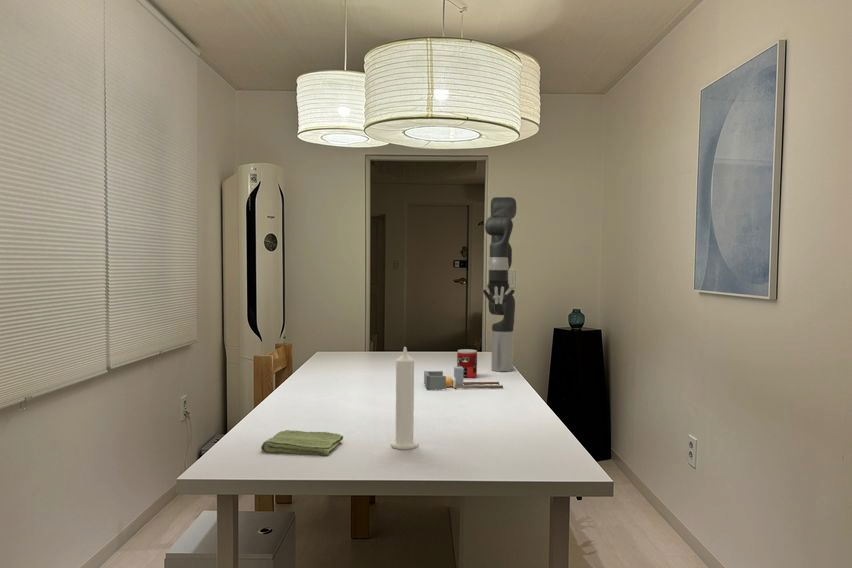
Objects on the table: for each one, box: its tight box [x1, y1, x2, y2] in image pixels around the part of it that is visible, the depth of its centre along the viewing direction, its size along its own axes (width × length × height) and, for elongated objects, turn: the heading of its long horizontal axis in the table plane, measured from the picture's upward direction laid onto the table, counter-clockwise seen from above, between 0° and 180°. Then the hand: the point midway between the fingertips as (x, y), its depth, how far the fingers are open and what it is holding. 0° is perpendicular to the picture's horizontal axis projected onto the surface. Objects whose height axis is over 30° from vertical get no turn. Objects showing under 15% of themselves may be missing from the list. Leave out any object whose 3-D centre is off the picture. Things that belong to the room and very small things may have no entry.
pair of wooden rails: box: [454, 381, 504, 389], centre depth 226 cm, size 8×18×1 cm, turn 95°
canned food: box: [456, 348, 478, 379], centre depth 244 cm, size 8×8×11 cm
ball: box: [445, 375, 452, 388], centre depth 225 cm, size 4×4×4 cm
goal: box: [423, 370, 447, 391], centre depth 224 cm, size 11×7×5 cm, turn 5°
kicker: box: [451, 366, 464, 389], centre depth 225 cm, size 5×4×7 cm
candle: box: [390, 346, 419, 451], centre depth 151 cm, size 7×7×25 cm
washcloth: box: [260, 429, 344, 456], centre depth 150 cm, size 13×18×3 cm
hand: (497, 313), depth 233 cm, fingers closed
